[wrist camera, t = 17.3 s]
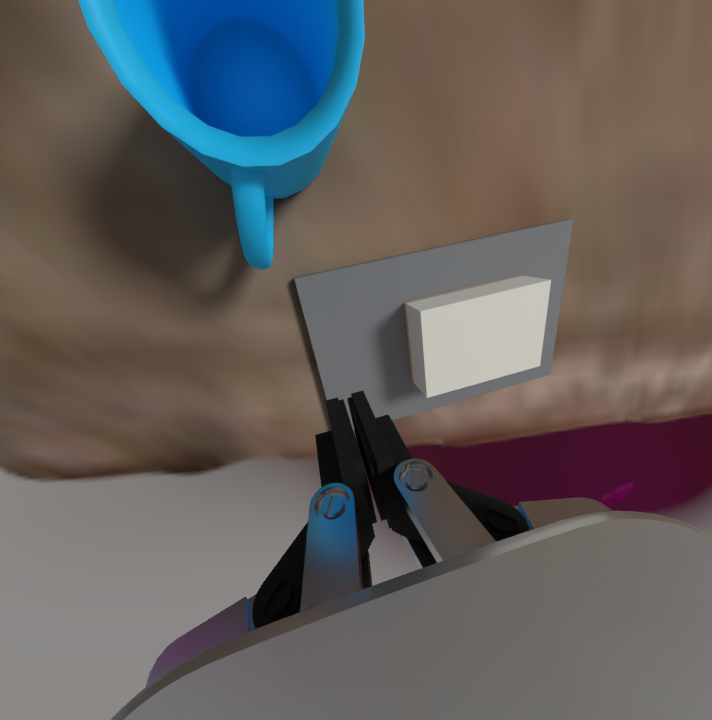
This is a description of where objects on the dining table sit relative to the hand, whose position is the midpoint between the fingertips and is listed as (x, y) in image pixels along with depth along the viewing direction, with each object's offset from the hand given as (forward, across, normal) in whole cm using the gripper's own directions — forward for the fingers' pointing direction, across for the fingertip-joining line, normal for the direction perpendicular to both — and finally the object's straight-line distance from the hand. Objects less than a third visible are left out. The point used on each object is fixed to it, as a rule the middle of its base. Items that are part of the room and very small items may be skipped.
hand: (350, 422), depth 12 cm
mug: (+11, +1, -12) cm, 16 cm away
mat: (+10, -10, +2) cm, 15 cm away
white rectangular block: (+8, -6, +2) cm, 11 cm away
